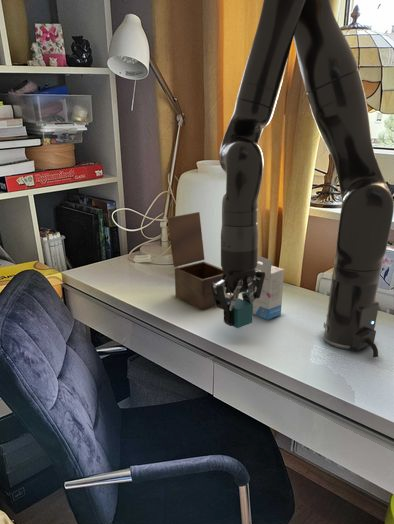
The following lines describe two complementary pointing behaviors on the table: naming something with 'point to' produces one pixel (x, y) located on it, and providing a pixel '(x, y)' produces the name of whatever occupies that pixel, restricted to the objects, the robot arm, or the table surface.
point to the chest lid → (186, 239)
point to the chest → (197, 284)
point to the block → (242, 313)
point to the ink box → (269, 290)
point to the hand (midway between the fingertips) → (238, 321)
